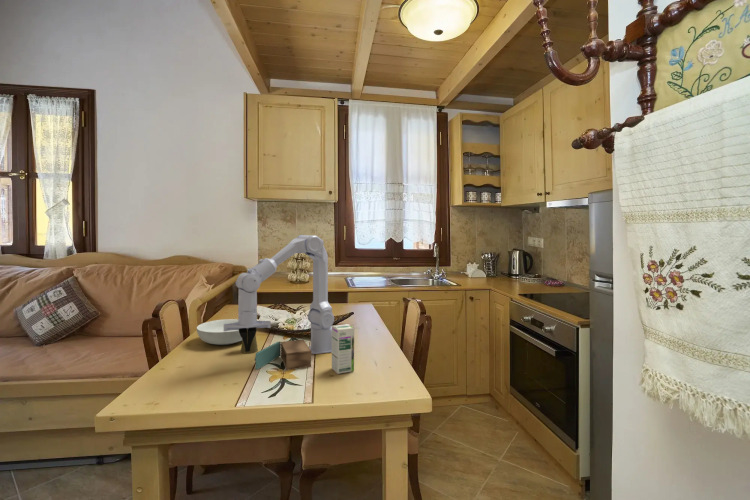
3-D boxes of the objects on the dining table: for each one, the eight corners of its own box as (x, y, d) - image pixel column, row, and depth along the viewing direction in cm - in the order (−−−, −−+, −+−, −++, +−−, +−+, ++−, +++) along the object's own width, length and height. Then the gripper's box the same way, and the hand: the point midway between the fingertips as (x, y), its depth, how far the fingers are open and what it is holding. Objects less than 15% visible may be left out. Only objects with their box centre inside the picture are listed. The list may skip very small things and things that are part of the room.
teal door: (280, 355, 128) (280, 341, 128) (258, 369, 116) (258, 353, 115) (275, 355, 129) (275, 340, 129) (252, 368, 116) (252, 352, 116)
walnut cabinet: (303, 354, 131) (303, 339, 131) (311, 366, 120) (311, 350, 119) (280, 356, 128) (280, 341, 128) (286, 369, 117) (286, 353, 116)
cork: (252, 354, 130) (252, 324, 130) (237, 353, 131) (237, 323, 131) (260, 349, 136) (260, 320, 135) (246, 347, 137) (246, 319, 137)
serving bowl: (259, 344, 142) (259, 327, 141) (201, 354, 130) (201, 335, 130) (245, 331, 159) (245, 316, 158) (193, 338, 147) (192, 322, 147)
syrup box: (337, 374, 114) (338, 329, 113) (331, 368, 119) (331, 324, 118) (354, 371, 116) (354, 327, 115) (347, 365, 121) (347, 323, 121)
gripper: (269, 306, 124) (268, 344, 125) (223, 308, 118) (223, 349, 119) (271, 310, 117) (271, 351, 118) (223, 313, 112) (223, 356, 112)
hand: (247, 350), depth 118 cm, fingers closed
